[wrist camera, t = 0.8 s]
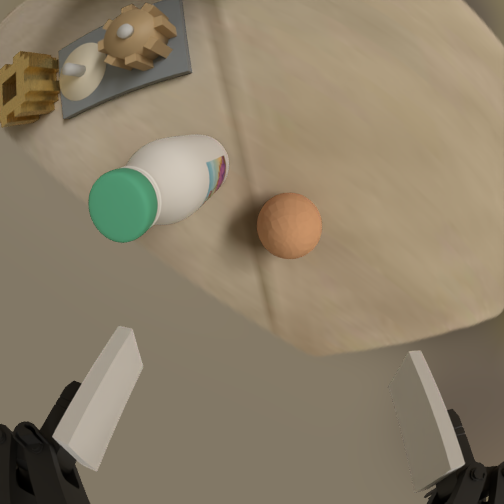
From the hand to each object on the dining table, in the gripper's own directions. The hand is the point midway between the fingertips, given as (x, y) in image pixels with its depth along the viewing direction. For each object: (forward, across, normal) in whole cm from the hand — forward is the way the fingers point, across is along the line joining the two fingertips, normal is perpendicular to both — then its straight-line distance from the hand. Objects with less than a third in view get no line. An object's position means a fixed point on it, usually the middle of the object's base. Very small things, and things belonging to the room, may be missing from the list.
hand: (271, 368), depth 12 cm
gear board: (+26, -22, +20) cm, 40 cm away
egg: (+26, +2, -1) cm, 26 cm away
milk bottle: (+26, -10, +5) cm, 28 cm away
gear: (+26, -38, +19) cm, 50 cm away
